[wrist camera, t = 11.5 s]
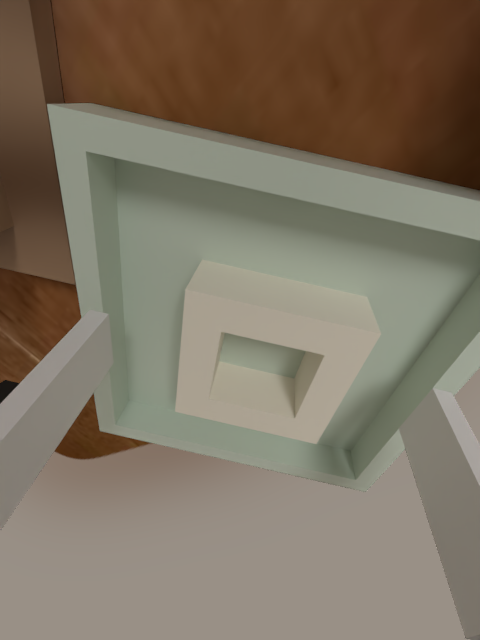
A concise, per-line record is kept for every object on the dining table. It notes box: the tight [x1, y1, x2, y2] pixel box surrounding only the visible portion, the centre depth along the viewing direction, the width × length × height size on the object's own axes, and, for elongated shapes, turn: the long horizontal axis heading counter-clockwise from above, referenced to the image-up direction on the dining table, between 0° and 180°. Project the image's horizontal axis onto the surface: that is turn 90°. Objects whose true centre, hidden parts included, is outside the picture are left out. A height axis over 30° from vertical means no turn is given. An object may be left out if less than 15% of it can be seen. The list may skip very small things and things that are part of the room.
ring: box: [175, 259, 381, 444], centre depth 14 cm, size 7×7×2 cm
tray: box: [47, 103, 480, 492], centre depth 14 cm, size 16×16×2 cm
